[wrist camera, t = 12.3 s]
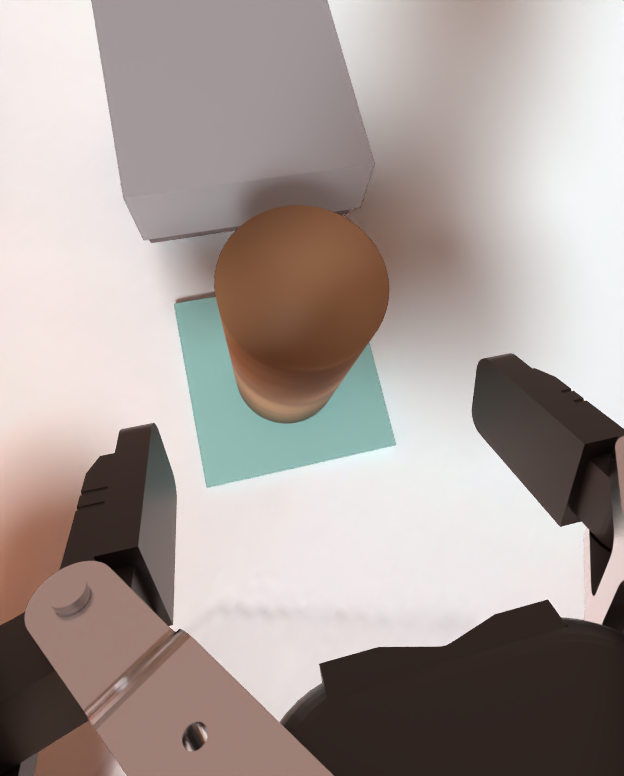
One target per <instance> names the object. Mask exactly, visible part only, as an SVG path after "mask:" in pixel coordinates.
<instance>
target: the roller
mask: <svg viewBox="0 0 624 776" xmlns="http://www.w3.org/2000/svg"><path fill="white" fill-rule="evenodd" d="M214 288H215V296H216V301H217V305H218V309H219V313H220V317H221V321H222V326H223V330H224V334H225V338H226V342H227V346H228V350H229V354H230V358H231V362H232V367H233V371H234V375H235V379H236V383H237V387H238V390H239V393H240V395H241V397H242V399H243V400H244V402H245V403H246V405H247V406H248V407H249V408H250V409H251V410H252V411H253V412H254V413H256V414H257V415H259V416H260V417H262V418H264V419H266V420H269V421H272V422H276V423H283V424H291V423H297V422H301V421H304V420H306V419H309V418H311V417H312V416H314V415H315V414H317V413H318V412H319V411H320V410H321V409H322V408H323V407H324V406H325V405H326V404H327V402H328V401H329V399H330V398H331V396H332V395H333V394H334V392H335V391H336V389H337V388H338V386H339V385H340V383H341V382H342V381H343V379H344V378H345V376H346V375H347V373H348V372H349V370H350V369H351V368H352V366H353V365H354V363H355V362H356V360H357V359H358V357H359V356H360V355H361V353H362V352H363V350H364V349H365V347H366V346H367V344H368V343H369V341H370V340H371V339H372V337H373V336H374V334H375V333H376V331H377V330H378V328H379V326H380V324H381V323H382V321H383V318H384V315H385V313H386V309H387V305H388V299H389V281H388V275H387V270H386V267H385V264H384V261H383V259H382V257H381V255H380V253H379V251H378V249H377V248H376V246H375V245H374V243H373V242H372V240H371V239H370V238H369V237H368V236H367V235H366V234H365V232H363V231H362V230H361V229H360V228H359V227H358V226H357V225H355V224H354V223H352V222H351V221H350V220H348V219H346V218H345V217H343V216H341V215H339V214H337V213H334V212H332V211H329V210H326V209H322V208H319V207H313V206H305V205H292V206H283V207H278V208H273V209H271V210H268V211H265V212H262V213H260V214H258V215H256V216H254V217H252V218H251V219H249V220H248V221H246V222H245V223H244V224H243V225H241V226H240V227H239V228H238V229H237V230H236V231H235V232H234V233H233V234H232V235H231V237H230V238H229V239H228V241H227V242H226V244H225V245H224V247H223V249H222V251H221V254H220V256H219V259H218V262H217V265H216V271H215V282H214Z"/></svg>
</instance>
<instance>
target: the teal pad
mask: <svg viewBox="0 0 624 776" xmlns="http://www.w3.org/2000/svg"><path fill="white" fill-rule="evenodd" d="M174 307H175V312H176V318H177V324H178V329H179V335H180V341H181V346H182V352H183V358H184V363H185V369H186V375H187V380H188V386H189V391H190V397H191V403H192V408H193V414H194V420H195V425H196V431H197V437H198V442H199V448H200V454H201V459H202V465H203V471H204V476H205V482H206V487H207V488H209V487H213V486H218V485H222V484H227V483H231V482H235V481H240V480H244V479H249V478H253V477H258V476H262V475H266V474H271V473H275V472H280V471H284V470H289V469H293V468H297V467H302V466H306V465H311V464H315V463H320V462H324V461H328V460H333V459H337V458H342V457H346V456H350V455H355V454H359V453H364V452H368V451H373V450H377V449H381V448H386V447H390V446H394V445H396V443H395V439H394V435H393V431H392V427H391V424H390V420H389V416H388V412H387V409H386V405H385V401H384V397H383V393H382V390H381V386H380V382H379V378H378V374H377V371H376V367H375V363H374V359H373V355H372V352H371V348H370V344H369V343H368V344H367V346H366V347H365V349H364V350H363V352H362V353H361V355H360V356H359V357H358V359H357V360H356V362H355V363H354V365H353V366H352V368H351V369H350V370H349V372H348V373H347V375H346V376H345V378H344V379H343V381H342V382H341V383H340V385H339V386H338V388H337V389H336V391H335V392H334V394H333V395H332V396H331V398H330V399H329V401H328V402H327V404H326V405H325V406H324V407H323V408H322V409H321V410H320V411H319V412H318V413H317V414H315V415H314V416H312V417H311V418H309V419H306V420H304V421H301V422H297V423H291V424H283V423H276V422H272V421H269V420H266V419H264V418H262V417H260V416H259V415H257V414H256V413H254V412H253V411H252V410H251V409H250V408H249V407H248V406H247V405H246V403H245V402H244V400H243V399H242V397H241V395H240V393H239V390H238V387H237V383H236V379H235V375H234V371H233V367H232V362H231V358H230V354H229V350H228V346H227V342H226V338H225V334H224V330H223V326H222V321H221V317H220V313H219V309H218V305H217V301H216V297H210V298H204V299H198V300H193V301H187V302H181V303H175V304H174Z"/></svg>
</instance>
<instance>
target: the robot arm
mask: <svg viewBox="0 0 624 776" xmlns="http://www.w3.org/2000/svg"><path fill="white" fill-rule="evenodd" d="M472 417H473V421H474V424H475V427H476V429H477V431H478V432H479V433H480V435H481V436H482V437H483V438H484V439H485V440H486V442H487V443H488V444H489V445H490V446H491V447H492V449H493V450H494V451H495V452H496V453H497V454H498V455H499V457H500V458H501V459H502V460H503V461H504V462H505V464H506V465H507V466H508V467H509V468H510V469H511V470H512V472H513V473H514V474H515V475H516V476H517V477H518V479H519V480H520V481H521V482H522V483H523V484H524V486H525V487H526V488H527V489H528V490H529V491H530V492H531V494H532V495H533V496H534V497H535V498H536V499H537V501H538V502H539V503H540V504H541V505H542V506H543V507H544V509H545V510H546V511H547V512H548V513H549V514H550V516H551V517H552V518H553V519H554V520H555V521H556V522H557V524H558V525H559V526H560V527H561V526H565V525H569V524H573V523H577V522H581V521H582V522H583V523H584V524H585V526H586V527H587V529H586V532H585V535H584V572H585V615H584V620H580V619H572V618H561V617H560V616H559V614H558V613H557V612H556V610H555V609H554V607H553V606H552V605H551V603H550V602H549V600H545V601H541V602H538V603H534V604H531V605H527V606H523V607H520V608H516V609H513V610H509V611H506V612H502V613H498V614H495V615H493V616H492V617H490V618H489V619H487V620H486V621H484V622H483V623H481V624H479V625H478V626H476V627H475V628H473V629H472V630H470V631H469V632H467V633H466V634H464V635H463V636H461V637H460V638H458V639H456V640H455V641H453V642H452V643H450V644H448V645H446V646H441V647H377V648H374V649H370V650H367V651H363V652H360V653H356V654H352V655H349V656H345V657H342V658H338V659H335V660H331V661H327V662H324V663H320V664H319V665H320V672H321V678H322V683H321V684H320V685H318V686H317V687H315V688H314V689H312V690H310V691H309V692H308V693H307V694H306V695H304V696H303V697H302V698H301V699H300V700H298V701H297V702H296V704H295V705H294V706H293V707H292V708H291V709H290V710H289V711H288V712H287V713H286V714H285V716H284V717H283V719H282V720H281V721H280V723H279V722H278V721H277V720H276V719H275V718H274V717H273V716H272V715H271V714H270V713H269V712H268V711H267V710H266V709H265V708H264V707H263V706H262V705H261V704H260V703H259V702H258V701H257V700H256V699H255V698H254V697H253V696H252V695H251V694H250V693H249V692H248V691H247V690H246V689H245V688H244V687H243V686H242V685H241V684H240V683H239V682H238V681H237V680H236V679H234V678H233V677H232V676H231V675H230V674H229V673H228V672H227V671H226V670H225V669H224V668H223V667H222V666H221V665H220V664H219V663H218V662H217V661H216V660H215V659H214V658H213V657H212V656H211V655H210V654H209V653H208V652H207V651H206V650H205V649H204V648H203V647H202V646H201V645H200V644H199V643H198V642H197V641H196V640H195V639H194V638H192V637H191V636H190V635H189V634H188V633H186V632H185V631H183V630H181V629H179V630H178V631H177V632H175V631H173V630H172V629H171V628H170V627H169V626H170V625H173V606H174V572H175V539H176V505H177V494H176V486H175V480H174V476H173V472H172V469H171V466H170V463H169V460H168V457H167V454H166V451H165V448H164V445H163V442H162V439H161V436H160V434H159V431H158V428H157V426H156V424H155V423H151V424H146V425H141V426H136V427H131V428H126V429H121V430H120V432H119V436H118V440H117V445H116V450H115V453H113V454H108V455H103V456H100V457H99V458H98V459H97V461H96V462H95V463H94V464H93V466H92V467H91V468H90V469H89V471H88V472H87V473H86V476H85V479H84V483H83V487H82V490H81V494H82V495H81V496H80V498H79V501H78V505H77V511H76V512H75V516H74V520H73V523H72V527H71V531H70V534H69V538H68V542H67V545H66V549H65V553H64V556H63V560H62V564H61V567H60V570H59V571H58V572H56V573H54V574H53V575H52V576H50V577H49V578H48V579H47V580H45V581H44V582H43V583H42V584H41V585H40V586H39V588H38V589H37V590H36V591H35V592H34V594H33V595H32V597H31V599H30V600H29V603H28V605H27V607H26V611H25V612H24V613H22V614H21V615H19V616H17V617H16V618H14V619H12V620H10V621H8V622H6V623H4V624H2V625H0V776H34V772H35V766H36V761H37V755H38V752H39V751H40V750H42V749H44V748H45V747H47V746H48V745H50V744H52V743H53V742H55V741H56V740H58V739H60V738H61V737H63V736H64V735H66V734H68V733H69V732H71V731H72V730H74V729H76V728H77V727H79V726H80V725H82V724H84V723H85V722H87V721H88V720H89V721H90V722H91V724H92V726H93V727H94V728H95V730H96V731H97V733H98V734H99V736H100V737H101V739H102V740H103V742H104V743H105V744H106V746H107V747H108V749H109V750H110V752H111V753H112V755H113V756H114V757H115V759H116V760H117V762H118V763H119V765H120V766H121V768H122V769H123V770H124V772H125V773H126V775H127V776H624V429H623V428H622V427H620V426H619V425H618V424H617V423H615V422H614V421H613V420H611V419H610V418H609V417H607V416H606V415H605V414H603V413H602V412H601V411H599V410H598V409H597V408H596V407H594V406H593V405H592V404H590V403H589V402H588V401H584V400H583V398H582V397H581V396H580V395H578V394H577V393H576V392H575V391H571V388H569V387H568V386H567V385H565V384H564V383H563V382H561V381H560V380H559V379H557V378H556V377H554V376H552V375H550V374H547V373H545V372H542V371H540V370H537V369H535V368H534V369H532V368H531V367H530V366H528V365H527V364H526V363H524V362H523V361H522V360H521V359H519V358H518V357H517V356H515V355H514V354H504V355H499V356H494V357H489V358H484V359H481V360H480V361H479V363H478V365H477V371H476V379H475V387H474V396H473V404H472Z"/></svg>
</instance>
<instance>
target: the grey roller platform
mask: <svg viewBox="0 0 624 776" xmlns="http://www.w3.org/2000/svg"><path fill="white" fill-rule="evenodd" d="M91 1H92V7H93V13H94V19H95V26H96V32H97V38H98V44H99V50H100V57H101V63H102V69H103V75H104V81H105V88H106V94H107V100H108V106H109V112H110V119H111V125H112V131H113V137H114V143H115V150H116V156H117V162H118V168H119V174H120V181H121V187H122V193H123V199H124V201H125V203H126V205H127V207H128V209H129V211H130V213H131V215H132V217H133V219H134V221H135V223H136V225H137V228H138V230H139V232H140V234H141V236H142V238H143V240H150V242H151V243H155V242H161V241H168V240H175V239H181V238H188V237H194V236H201V235H208V234H214V233H221V232H227V231H234V230H237V229H238V228H239V227H240V226H241V225H243V224H244V223H245V222H246V221H248V220H249V219H251V218H252V217H254V216H256V215H258V214H260V213H262V212H265V211H268V210H271V209H273V208H278V207H283V206H292V205H305V206H313V207H319V208H322V209H326V210H329V211H332V212H334V213H337V214H339V215H340V214H347V213H348V212H349V210H350V209H356V208H361V205H362V202H363V199H364V195H365V192H366V189H367V186H368V183H369V180H370V177H371V174H372V171H373V168H374V164H375V163H374V160H373V156H372V153H371V149H370V146H369V142H368V139H367V136H366V132H365V129H364V125H363V122H362V118H361V115H360V111H359V108H358V105H357V101H356V98H355V94H354V91H353V87H352V84H351V80H350V77H349V74H348V70H347V67H346V63H345V60H344V56H343V53H342V49H341V46H340V43H339V39H338V36H337V32H336V29H335V25H334V22H333V18H332V15H331V12H330V8H329V5H328V1H327V0H91Z"/></svg>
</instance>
